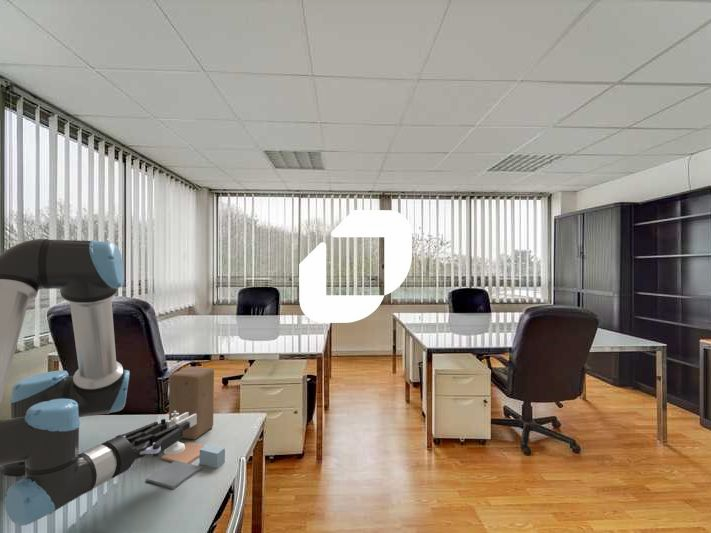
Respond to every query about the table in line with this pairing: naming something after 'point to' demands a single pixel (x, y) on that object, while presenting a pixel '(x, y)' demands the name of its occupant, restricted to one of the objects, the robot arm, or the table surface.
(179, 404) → the wooden block
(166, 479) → the pad slate
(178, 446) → the chess piece
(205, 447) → the brick blue
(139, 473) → the table surface
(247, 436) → the table surface
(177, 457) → the pad terracotta
